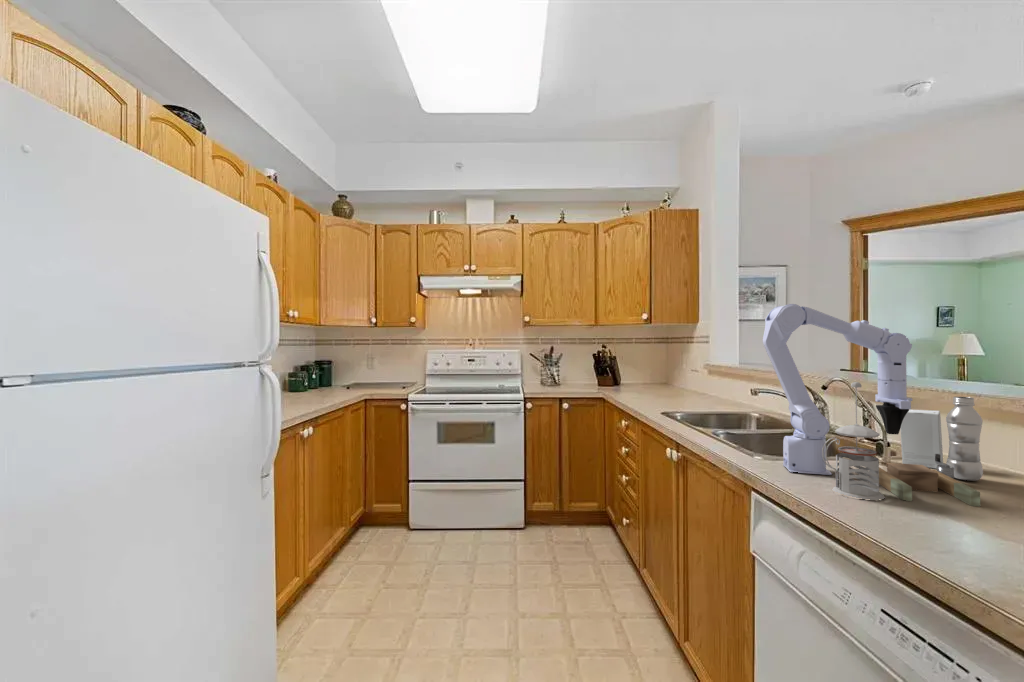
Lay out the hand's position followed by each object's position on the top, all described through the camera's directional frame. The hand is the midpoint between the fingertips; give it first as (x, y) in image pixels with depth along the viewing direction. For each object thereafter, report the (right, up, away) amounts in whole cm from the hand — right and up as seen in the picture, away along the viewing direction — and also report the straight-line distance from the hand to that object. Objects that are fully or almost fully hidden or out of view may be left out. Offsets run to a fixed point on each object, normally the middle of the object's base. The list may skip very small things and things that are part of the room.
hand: (892, 433), depth 119 cm
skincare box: (+15, -10, +8) cm, 20 cm away
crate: (-3, -11, -9) cm, 14 cm away
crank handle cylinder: (+7, -10, -7) cm, 14 cm away
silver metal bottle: (+13, -10, -5) cm, 18 cm away
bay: (-4, -10, -13) cm, 17 cm away
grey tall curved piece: (-20, -11, -14) cm, 27 cm away
